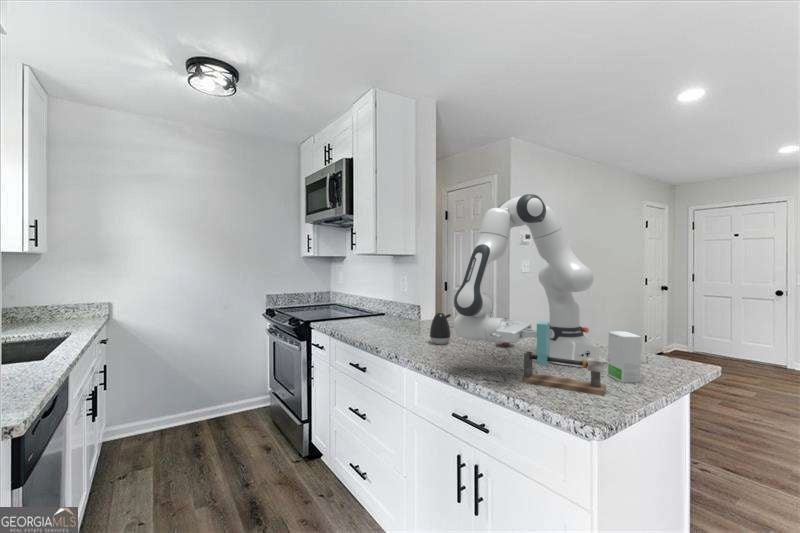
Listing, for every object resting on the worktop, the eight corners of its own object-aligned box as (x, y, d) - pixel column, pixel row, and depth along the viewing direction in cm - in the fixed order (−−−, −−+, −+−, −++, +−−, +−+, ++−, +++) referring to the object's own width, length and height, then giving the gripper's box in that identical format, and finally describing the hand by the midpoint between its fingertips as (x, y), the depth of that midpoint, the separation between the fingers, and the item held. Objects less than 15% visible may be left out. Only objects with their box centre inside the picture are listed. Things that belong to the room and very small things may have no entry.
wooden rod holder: (522, 382, 127) (522, 353, 127) (527, 376, 133) (527, 349, 133) (603, 395, 114) (603, 363, 114) (605, 388, 120) (605, 358, 120)
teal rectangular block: (536, 365, 125) (536, 323, 125) (540, 361, 129) (540, 321, 129) (546, 366, 124) (546, 324, 123) (549, 362, 128) (549, 322, 128)
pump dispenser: (452, 345, 182) (452, 313, 181) (430, 345, 182) (430, 314, 182) (449, 341, 192) (449, 311, 192) (429, 341, 192) (428, 311, 192)
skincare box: (607, 375, 133) (606, 331, 133) (624, 374, 134) (624, 330, 133) (623, 383, 125) (623, 336, 125) (642, 382, 125) (642, 335, 125)
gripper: (487, 326, 126) (530, 329, 118) (506, 317, 143) (545, 320, 136) (487, 345, 126) (530, 349, 119) (506, 334, 143) (545, 338, 136)
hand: (538, 334), depth 127 cm, fingers closed, pressing on teal rectangular block
